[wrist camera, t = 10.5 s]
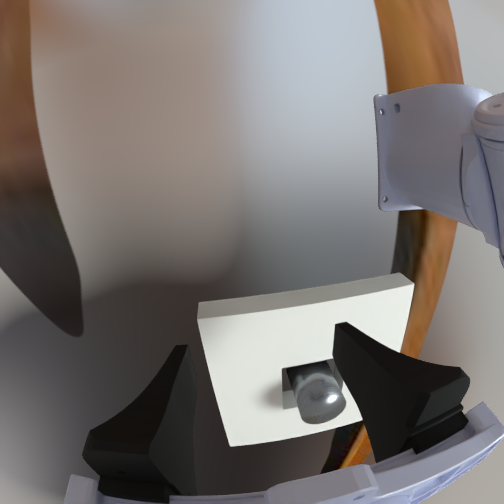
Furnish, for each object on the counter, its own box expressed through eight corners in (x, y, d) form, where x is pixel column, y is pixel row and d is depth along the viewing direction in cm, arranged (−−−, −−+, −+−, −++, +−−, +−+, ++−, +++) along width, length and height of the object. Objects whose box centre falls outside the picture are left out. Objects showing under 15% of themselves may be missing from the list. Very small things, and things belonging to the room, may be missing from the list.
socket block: (198, 302, 22) (197, 319, 20) (399, 272, 24) (414, 283, 21) (228, 430, 28) (230, 446, 26) (371, 400, 30) (379, 414, 27)
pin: (278, 366, 26) (292, 413, 20) (313, 343, 25) (335, 388, 19) (299, 385, 27) (314, 429, 21) (331, 365, 26) (353, 407, 21)
